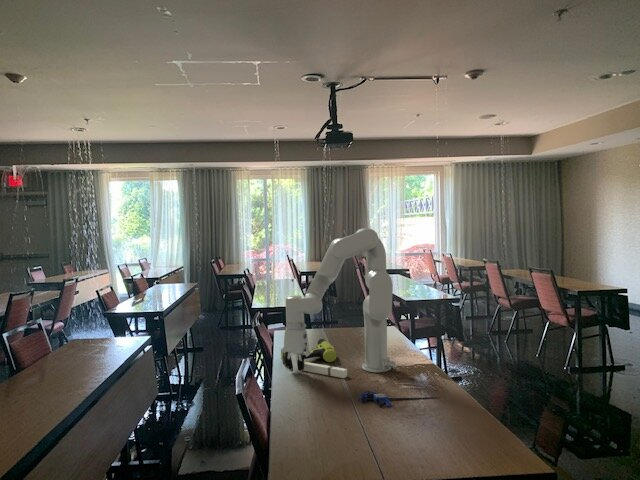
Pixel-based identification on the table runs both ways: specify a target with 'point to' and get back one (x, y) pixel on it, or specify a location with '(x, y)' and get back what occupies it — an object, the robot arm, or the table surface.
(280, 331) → the table surface
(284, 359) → the cordless drill
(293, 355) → the milkshake
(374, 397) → the bar clamp
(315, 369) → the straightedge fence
